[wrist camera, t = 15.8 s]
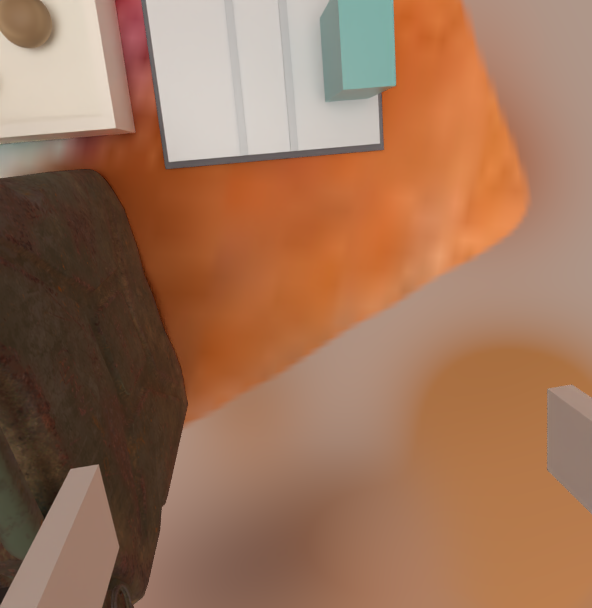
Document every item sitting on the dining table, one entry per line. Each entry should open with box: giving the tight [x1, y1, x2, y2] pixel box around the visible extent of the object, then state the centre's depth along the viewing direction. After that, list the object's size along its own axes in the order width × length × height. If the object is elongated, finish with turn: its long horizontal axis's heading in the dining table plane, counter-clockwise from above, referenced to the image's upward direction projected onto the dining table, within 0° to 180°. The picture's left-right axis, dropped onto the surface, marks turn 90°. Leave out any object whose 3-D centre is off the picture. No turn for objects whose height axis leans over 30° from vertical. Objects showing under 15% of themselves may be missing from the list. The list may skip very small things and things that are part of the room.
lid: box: [146, 0, 396, 162], centre depth 39 cm, size 17×13×9 cm
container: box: [0, 169, 188, 608], centre depth 33 cm, size 22×10×30 cm, turn 15°
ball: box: [0, 0, 52, 48], centre depth 39 cm, size 4×4×4 cm
